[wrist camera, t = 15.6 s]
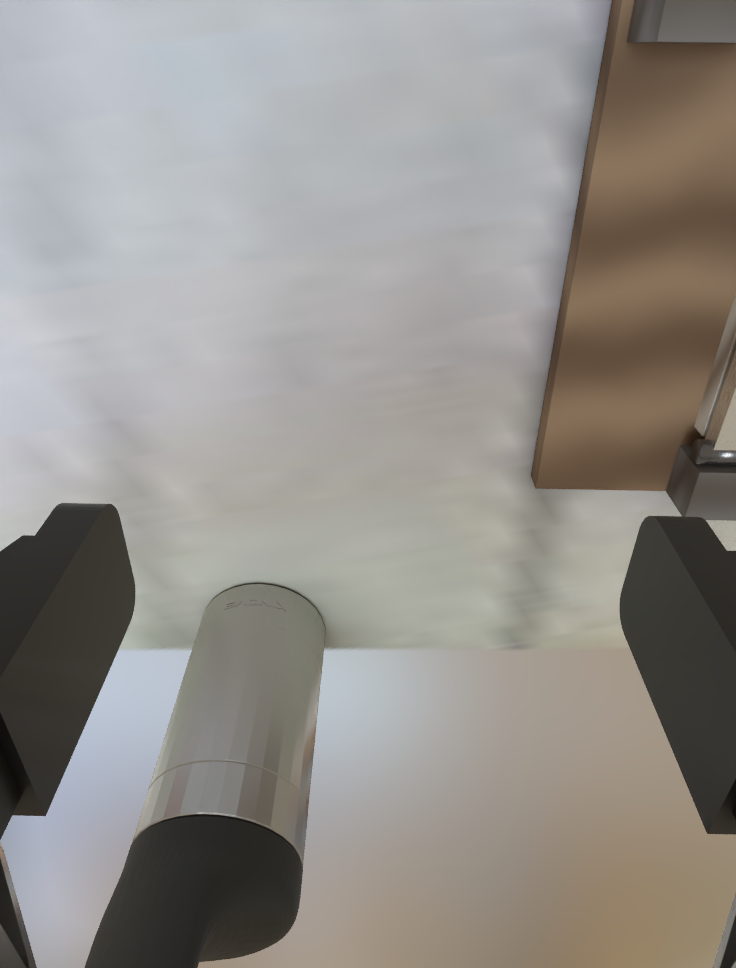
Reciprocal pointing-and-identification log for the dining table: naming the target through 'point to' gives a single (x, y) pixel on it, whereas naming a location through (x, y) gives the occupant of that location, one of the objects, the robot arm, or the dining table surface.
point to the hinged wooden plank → (650, 265)
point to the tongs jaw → (720, 427)
